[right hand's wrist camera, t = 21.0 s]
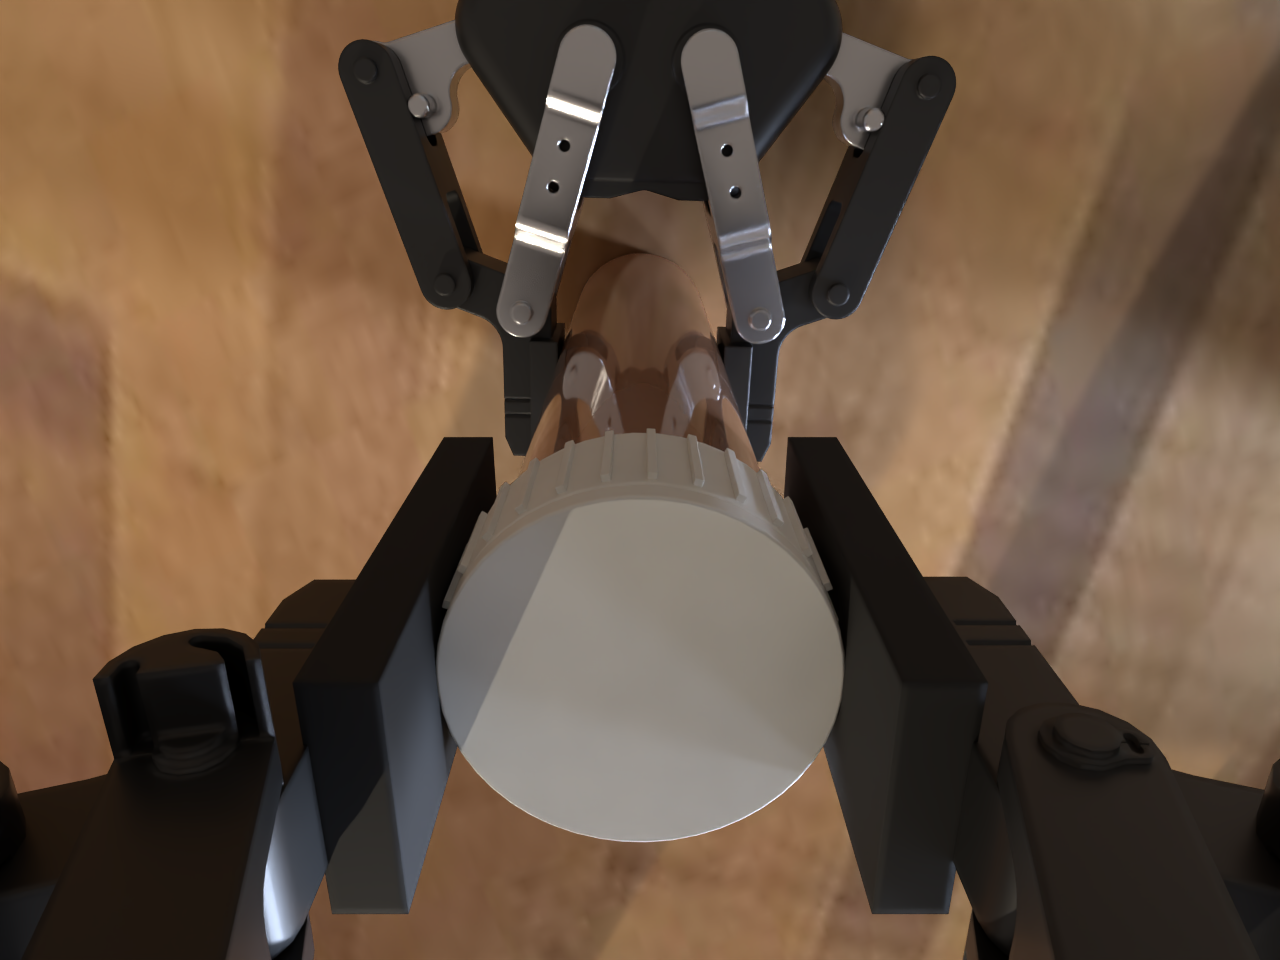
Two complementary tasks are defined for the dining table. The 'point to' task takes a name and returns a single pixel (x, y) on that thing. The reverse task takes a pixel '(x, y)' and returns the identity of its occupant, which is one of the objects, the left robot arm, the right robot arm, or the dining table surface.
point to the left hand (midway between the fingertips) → (636, 466)
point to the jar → (640, 365)
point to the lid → (640, 640)
